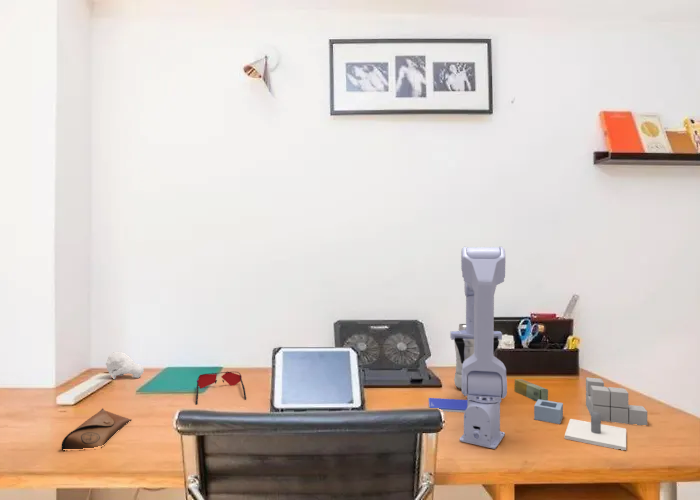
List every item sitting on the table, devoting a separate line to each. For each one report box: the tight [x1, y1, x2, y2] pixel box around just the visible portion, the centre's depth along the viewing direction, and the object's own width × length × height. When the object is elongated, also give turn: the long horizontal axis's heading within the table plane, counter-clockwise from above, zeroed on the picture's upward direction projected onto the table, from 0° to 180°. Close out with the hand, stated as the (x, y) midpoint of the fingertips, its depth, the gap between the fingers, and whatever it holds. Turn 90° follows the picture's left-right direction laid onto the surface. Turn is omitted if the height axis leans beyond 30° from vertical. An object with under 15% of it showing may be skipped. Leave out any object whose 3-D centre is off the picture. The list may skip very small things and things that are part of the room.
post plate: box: [564, 411, 627, 451], centre depth 104 cm, size 12×12×5 cm
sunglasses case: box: [61, 407, 132, 451], centre depth 105 cm, size 18×7×7 cm
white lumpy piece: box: [105, 351, 145, 380], centre depth 152 cm, size 6×8×12 cm
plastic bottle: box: [453, 323, 474, 390], centre depth 140 cm, size 6×7×20 cm
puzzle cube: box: [585, 376, 648, 426], centre depth 118 cm, size 12×12×8 cm
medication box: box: [514, 378, 549, 403], centre depth 133 cm, size 12×3×4 cm, turn 17°
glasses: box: [195, 370, 247, 406], centre depth 135 cm, size 14×16×5 cm
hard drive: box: [428, 397, 467, 413], centre depth 124 cm, size 2×8×12 cm
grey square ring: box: [533, 399, 564, 425], centre depth 115 cm, size 6×6×4 cm
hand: (475, 362), depth 132 cm, fingers open, 7 cm apart
